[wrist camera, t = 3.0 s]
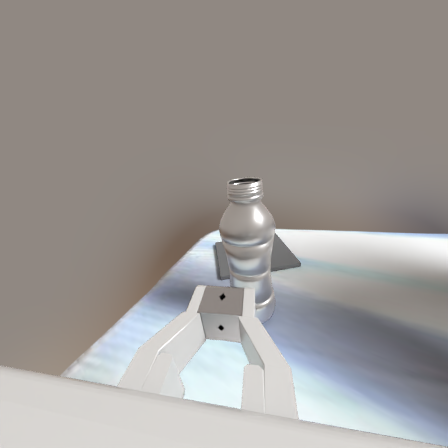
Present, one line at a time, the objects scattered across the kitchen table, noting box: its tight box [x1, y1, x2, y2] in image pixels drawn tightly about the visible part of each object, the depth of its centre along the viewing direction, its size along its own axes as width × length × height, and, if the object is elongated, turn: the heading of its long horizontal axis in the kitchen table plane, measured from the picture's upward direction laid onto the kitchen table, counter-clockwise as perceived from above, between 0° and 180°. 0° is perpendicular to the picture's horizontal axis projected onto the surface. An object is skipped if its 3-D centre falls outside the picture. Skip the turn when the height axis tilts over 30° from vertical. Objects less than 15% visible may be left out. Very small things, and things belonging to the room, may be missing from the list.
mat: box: [215, 233, 301, 280], centre depth 40 cm, size 16×13×1 cm
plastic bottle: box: [219, 177, 276, 323], centre depth 23 cm, size 6×7×20 cm
